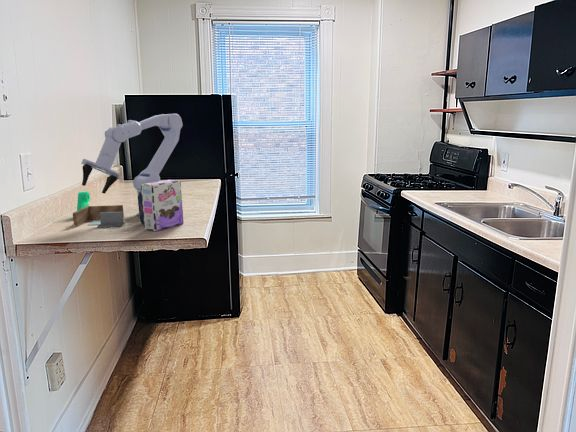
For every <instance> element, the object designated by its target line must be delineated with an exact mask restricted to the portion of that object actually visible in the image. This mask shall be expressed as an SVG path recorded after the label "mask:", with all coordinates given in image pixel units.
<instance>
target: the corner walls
mask: <svg viewBox="0 0 576 432" xmlns="http://www.w3.org/2000/svg"><path fill="white" fill-rule="evenodd" d="M100 212H123V219H124V218H125V214H124V206H123V204H116V205H115V204H113V205H112V204H111V205H109V204H108V205H89V206H86V207H84V208H82V209H80V210H78V211H77V210H76V211H74V212H72V220H73V227H74V228H78V227H80V226H81V225H82V226H83V224H85V223H87V222H89V221H90V220H100V214H99V213H100Z"/></svg>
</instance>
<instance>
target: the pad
mask: <svg viewBox="0 0 576 432" xmlns="http://www.w3.org/2000/svg"><path fill="white" fill-rule="evenodd" d="M100 224H101V223H100V219H94V220H93V221H91V222H89V223H88V224H87V226H99V225H100Z"/></svg>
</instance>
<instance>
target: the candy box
mask: <svg viewBox="0 0 576 432" xmlns="http://www.w3.org/2000/svg"><path fill="white" fill-rule="evenodd" d="M181 185H182V184H181V180H179V179H178V180H177V179H167V180H160V181H159V182H153V183H147V184H141V191H142V204H143V216H144V225H143V227H144V230H146V231H152V232H157V231H161V230H165V229H168V228H172V227H176V226H179V225H184V211H183V210H184V209H183V199H182V198H183V197H182V186H181Z"/></svg>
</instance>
